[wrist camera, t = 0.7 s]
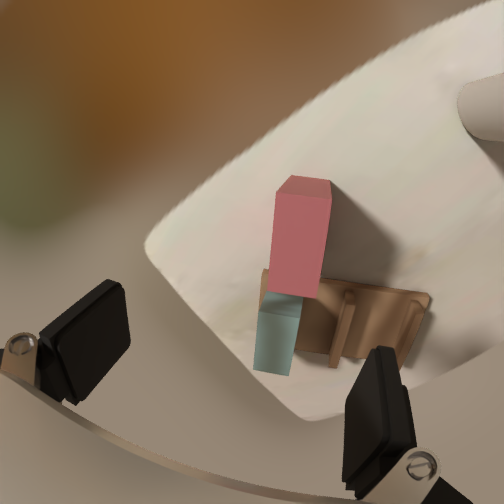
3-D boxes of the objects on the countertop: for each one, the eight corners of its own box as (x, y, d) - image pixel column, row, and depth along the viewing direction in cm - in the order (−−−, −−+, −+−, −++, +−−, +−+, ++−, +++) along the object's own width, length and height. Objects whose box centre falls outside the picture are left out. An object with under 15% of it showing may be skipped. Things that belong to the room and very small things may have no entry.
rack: (427, 293, 31) (444, 327, 24) (402, 356, 35) (410, 395, 28) (263, 268, 35) (248, 300, 28) (257, 336, 39) (243, 373, 32)
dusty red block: (329, 180, 29) (332, 199, 20) (319, 252, 32) (316, 298, 23) (291, 175, 30) (276, 192, 21) (283, 247, 33) (267, 290, 24)
